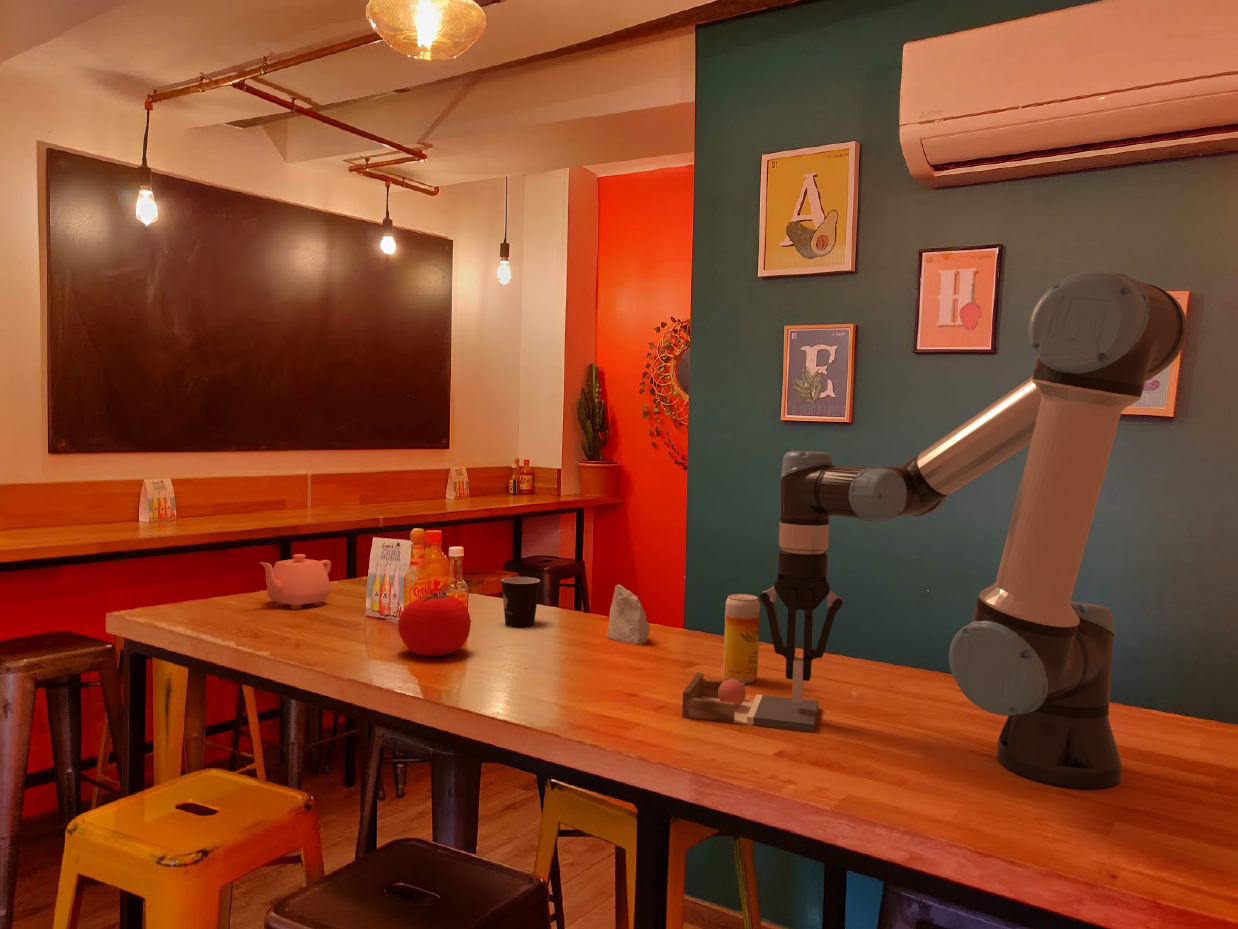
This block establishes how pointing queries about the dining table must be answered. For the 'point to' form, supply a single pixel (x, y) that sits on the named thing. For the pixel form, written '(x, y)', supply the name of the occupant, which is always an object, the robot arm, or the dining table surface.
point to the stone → (627, 618)
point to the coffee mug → (520, 601)
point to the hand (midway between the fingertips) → (797, 700)
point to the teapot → (298, 581)
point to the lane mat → (776, 712)
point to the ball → (732, 692)
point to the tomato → (434, 625)
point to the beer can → (741, 637)
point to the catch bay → (706, 701)
